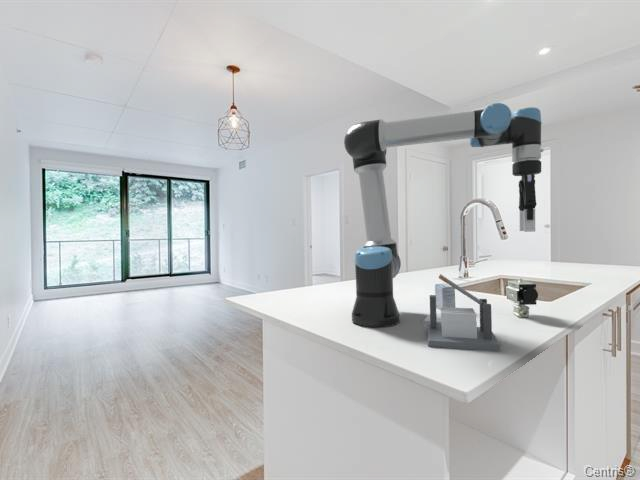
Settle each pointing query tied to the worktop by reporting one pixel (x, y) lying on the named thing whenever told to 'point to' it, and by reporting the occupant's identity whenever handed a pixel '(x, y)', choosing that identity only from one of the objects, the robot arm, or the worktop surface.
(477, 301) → the lever
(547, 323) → the worktop surface
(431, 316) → the heatsink base
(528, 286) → the pneumatic valve
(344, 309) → the worktop surface
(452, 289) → the medicine box
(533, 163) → the robot arm
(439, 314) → the external hard drive
